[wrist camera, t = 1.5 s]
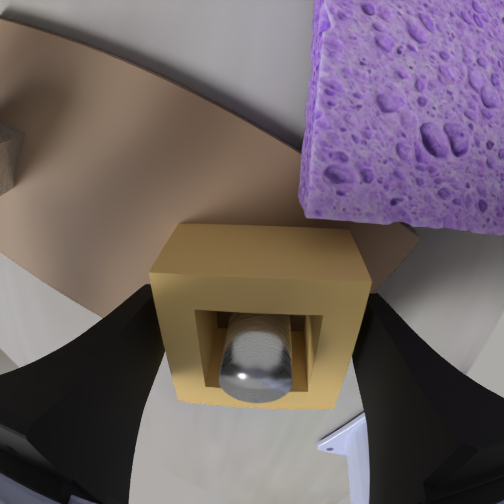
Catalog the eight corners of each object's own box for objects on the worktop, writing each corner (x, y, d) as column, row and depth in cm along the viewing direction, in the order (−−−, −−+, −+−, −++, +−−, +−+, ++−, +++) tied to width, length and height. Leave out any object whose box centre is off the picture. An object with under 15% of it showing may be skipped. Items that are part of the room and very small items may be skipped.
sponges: (295, 197, 10) (301, 219, 8) (311, -131, 4) (318, -158, 2) (477, 219, 10) (505, 241, 8) (487, -72, 4) (512, -84, 2)
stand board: (414, 231, 11) (472, 311, 7) (269, 385, 15) (266, 466, 11) (-3, 16, 7) (-84, 19, 3) (-41, 208, 11) (-99, 251, 7)
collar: (349, 229, 10) (371, 281, 8) (326, 350, 13) (333, 408, 10) (178, 223, 11) (148, 272, 8) (193, 344, 13) (178, 400, 11)
